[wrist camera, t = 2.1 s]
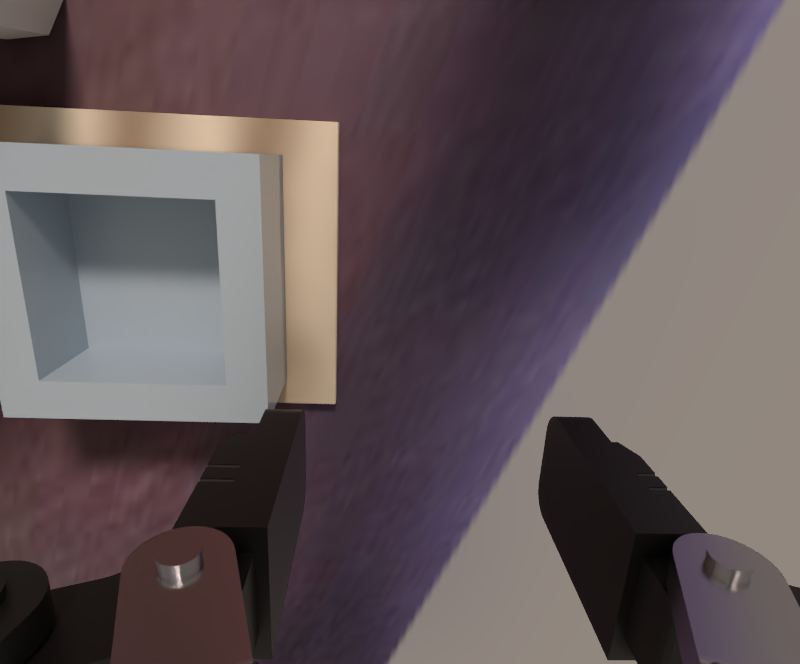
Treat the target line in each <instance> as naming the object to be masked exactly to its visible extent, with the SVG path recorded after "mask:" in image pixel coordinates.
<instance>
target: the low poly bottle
mask: <svg viewBox="0 0 800 664" xmlns="http://www.w3.org/2000/svg"><path fill="white" fill-rule="evenodd" d="M62 2H63V0H0V39H16V38H26V37H36V36H46V35H49V34H50V32H51V29H52V27H53V24H54V22H55V19H56V17H57V14H58V12H59V9H60V7H61V4H62Z"/></svg>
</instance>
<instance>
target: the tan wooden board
mask: <svg viewBox="0 0 800 664" xmlns="http://www.w3.org/2000/svg"><path fill="white" fill-rule="evenodd" d="M0 141H5V142H32V143H53V144H73V145H94V146H115V147H136V148H156V149H177V150H198V151H219V152H239V153H260V154H281V155H283V202H284V249H285V297H286V344H287V379H286V382H285V384H284V387H283V389H282V391H281V394H280V396H279V399H278V401H277V403H309V404H336V398H337V308H338V209H339V123H338V122H323V121H304V120H285V119H265V118H246V117H227V116H207V115H188V114H168V113H149V112H130V111H110V110H91V109H71V108H52V107H33V106H13V105H0Z"/></svg>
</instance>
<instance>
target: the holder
mask: <svg viewBox="0 0 800 664" xmlns="http://www.w3.org/2000/svg"><path fill="white" fill-rule="evenodd" d="M286 379H287V344H286V297H285V249H284V202H283V155H281V154H260V153H239V152H219V151H198V150H177V149H156V148H136V147H115V146H94V145H73V144H53V143H32V142H5V141H0V401H1V406H2V411H3V416H4V417H14V418H57V419H101V420H145V421H188V422H232V423H259V422H260V420H261V418H262V416H263V413H264V411H265V410H266V409H275V406H276V404H277V401H278V399H279V396H280V394H281V391H282V389H283V387H284V384H285V382H286Z"/></svg>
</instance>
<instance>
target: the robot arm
mask: <svg viewBox="0 0 800 664" xmlns="http://www.w3.org/2000/svg"><path fill="white" fill-rule="evenodd" d="M305 488H306V449H305V413H304V410H285V409H266V410H265V411H264V413H263V416H262V418H261V420H260V422H259V425H258V427H257V429H256V431H255V434H242V433H236V434H235V435H233V436H232V437H231V438H229V439H228V440H227V441H225V442H224V443H222V444H221V445H220V446H218V447H217V449H216V451H215V452H214V454H213V456H212V458H211V460H210V462H209V463H208V467H206V469H205V471H204V472H203V474H202V476H201V478H200V482H198V483H197V485H196V487H195V489H194V491H193V492H192V494H191V496H190V498H189V500H188V501H187V503H186V505H185V507H184V509H183V511H182V512H181V514H180V516H179V518H178V520H177V521H176V523H175V525H174V527H173V529H172V530H169V531H166V532H163V533H160V534H158V535H156V536H154V537H152V538H150V539H149V540H147V541H145V542H144V543H142V544H141V545H140V546H138V547H137V548H136V549H135V550H134V551H133V552H132V553H131V554H130V555H129V557H128V558H127V559H126V561H125V563H124V565H123V567H122V571H121V573H118V574H116V575H113V576H110V577H106V578H102V579H98V580H93V581H89V582H84V583H80V584H75V585H71V586H66V587H62V588H57V589H52V590H50V585H49V580H48V576H47V574H46V572H45V571H44V570H43V568H42V567H40V566H38V565H37V564H34V563H31V562H26V561H2V562H0V664H258V663H257V661H256V662H253V659H272V657H273V652H274V648H275V643H276V638H277V633H278V629H279V624H280V619H281V614H282V610H283V605H284V600H285V595H286V591H287V586H288V581H289V576H290V572H291V567H292V562H293V557H294V553H295V548H296V543H297V538H298V534H299V529H300V524H301V519H302V515H303V509H304V501H305ZM538 495H539V505H540V510H541V513H542V516H543V519H544V521H545V523H546V525H547V528H548V530H549V532H550V534H551V536H552V539H553V541H554V543H555V545H556V547H557V550H558V552H559V554H560V556H561V558H562V561H563V563H564V565H565V567H566V569H567V571H568V574H569V576H570V578H571V580H572V582H573V585H574V587H575V589H576V591H577V593H578V596H579V598H580V600H581V602H582V604H583V607H584V609H585V611H586V613H587V615H588V618H589V620H590V622H591V624H592V626H593V629H594V631H595V633H596V635H597V637H598V640H599V642H600V644H601V646H602V648H603V651H604V653H605V655H606V657H607V659H608V660H636V661H637V663H638V664H800V588H798V587H794V586H790V585H788V583H787V581H786V579H785V578H784V576H783V575H782V573H781V572H780V571H779V570H778V568H777V567H776V566H775V565H774V564H773V563H771V562H770V561H769V560H768V559H766V558H765V557H764V556H763V555H761V554H760V553H758V552H756V551H755V550H753V549H751V548H750V547H747V546H746V545H744V544H741V543H739V542H737V541H734V540H732V539H729V538H726V537H722V536H718V535H713V534H708V533H707V532H706V531H705V530H704V529H703V528H702V527H701V525H699V523H698V522H697V521H696V520H695V519H694V517H693V516H692V515H691V514H690V513H689V512H688V511H687V510H686V509H685V507H684V506H683V505H682V504H681V503H680V501H679V500H678V499H677V498H676V497H675V496H674V495H673V493H672V492H671V491H667V487H666V485H665V484H664V483H663V482H662V481H661V480H660V479H659V477H656V476H655V473H654V472H653V471H652V470H651V468H650V467H649V466H648V465H647V464H646V463H645V461H644V460H643V459H642V458H641V457H640V456H639V455H637V454H635V453H634V452H632V451H631V450H629V449H628V448H626V447H624V446H623V445H621V444H620V443H618V442H611V441H610V440H609V439H608V438H607V436H606V435H605V434H604V433H603V431H602V430H601V429H600V428H599V426H598V425H597V424H596V423H595V422H594V421H593V419H591V418H587V417H552V418H551V419H550V421H549V423H548V426H547V432H546V440H545V446H544V453H543V459H542V466H541V473H540V480H539V490H538Z"/></svg>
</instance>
